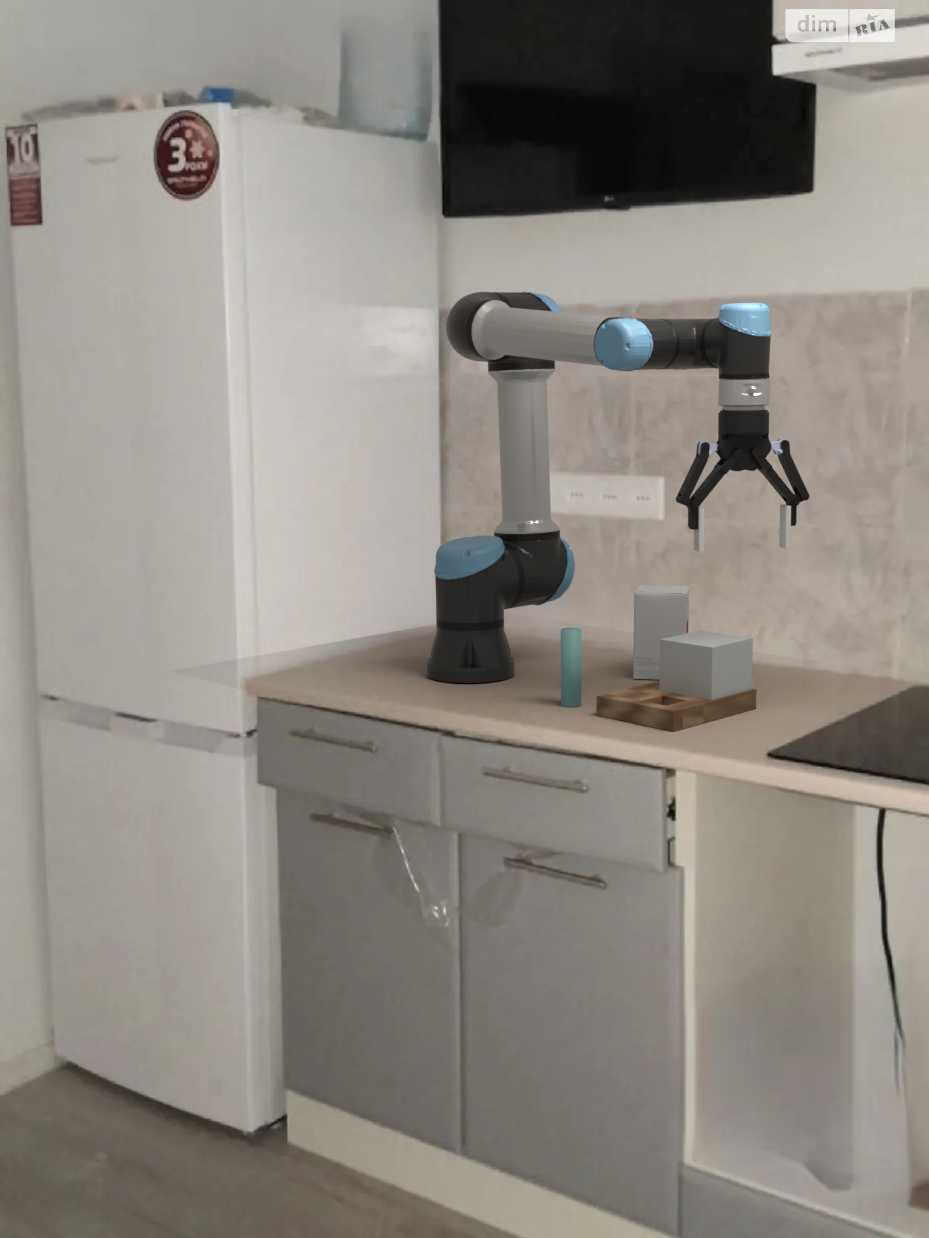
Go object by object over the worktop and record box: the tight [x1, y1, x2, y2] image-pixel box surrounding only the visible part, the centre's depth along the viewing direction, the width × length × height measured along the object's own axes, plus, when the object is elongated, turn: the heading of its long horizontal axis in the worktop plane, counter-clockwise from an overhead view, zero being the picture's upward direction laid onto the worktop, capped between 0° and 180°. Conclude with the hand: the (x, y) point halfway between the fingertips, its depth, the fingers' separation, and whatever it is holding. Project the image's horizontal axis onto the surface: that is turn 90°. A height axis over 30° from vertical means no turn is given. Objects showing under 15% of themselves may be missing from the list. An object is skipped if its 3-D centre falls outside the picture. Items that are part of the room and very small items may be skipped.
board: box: [595, 680, 757, 732], centre depth 232 cm, size 15×20×8 cm
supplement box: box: [632, 584, 690, 681], centre depth 258 cm, size 9×9×15 cm
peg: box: [560, 627, 582, 708], centre depth 238 cm, size 3×3×12 cm
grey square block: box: [659, 630, 754, 700], centre depth 233 cm, size 10×10×8 cm
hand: (742, 549), depth 231 cm, fingers open, 13 cm apart
